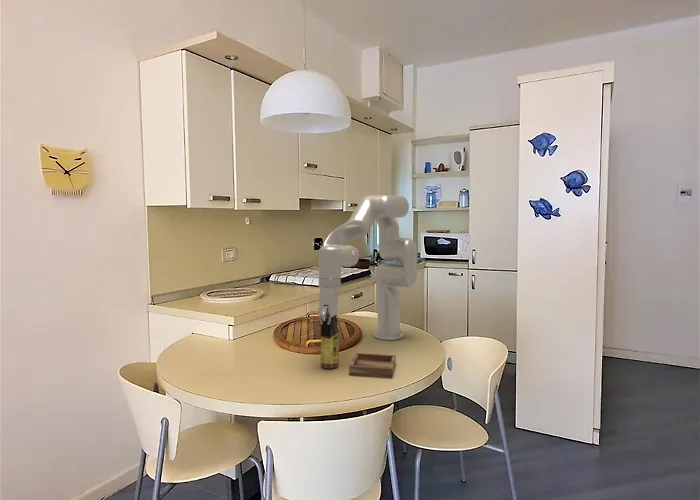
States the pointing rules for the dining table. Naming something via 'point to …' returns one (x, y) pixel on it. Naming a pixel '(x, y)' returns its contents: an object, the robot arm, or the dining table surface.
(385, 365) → the tray
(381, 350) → the dining table surface
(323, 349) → the sauce bottle
